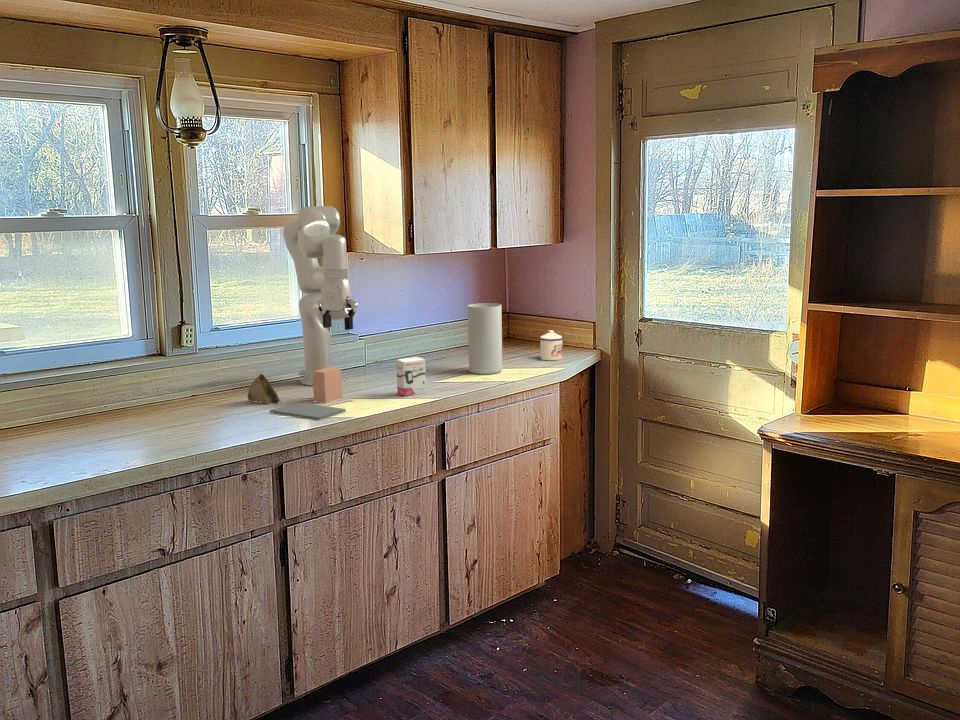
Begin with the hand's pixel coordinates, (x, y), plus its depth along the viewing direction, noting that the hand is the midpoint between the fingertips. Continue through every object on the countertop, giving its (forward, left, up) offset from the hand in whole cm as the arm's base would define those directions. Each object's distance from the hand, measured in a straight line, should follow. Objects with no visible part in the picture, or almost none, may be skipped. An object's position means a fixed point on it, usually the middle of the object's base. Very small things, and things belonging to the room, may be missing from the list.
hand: (338, 328), depth 278 cm
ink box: (+16, +17, -24) cm, 33 cm away
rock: (-20, -15, -24) cm, 34 cm away
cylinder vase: (+18, +61, -24) cm, 68 cm away
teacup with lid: (+28, +97, -24) cm, 104 cm away
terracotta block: (-3, -3, -23) cm, 24 cm away
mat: (+3, -19, -23) cm, 30 cm away
